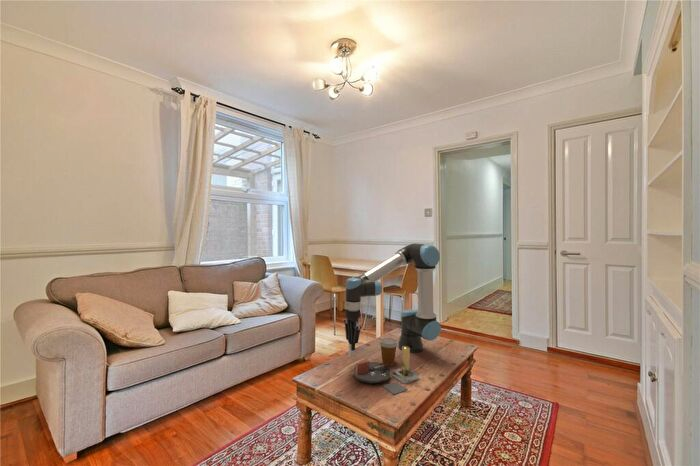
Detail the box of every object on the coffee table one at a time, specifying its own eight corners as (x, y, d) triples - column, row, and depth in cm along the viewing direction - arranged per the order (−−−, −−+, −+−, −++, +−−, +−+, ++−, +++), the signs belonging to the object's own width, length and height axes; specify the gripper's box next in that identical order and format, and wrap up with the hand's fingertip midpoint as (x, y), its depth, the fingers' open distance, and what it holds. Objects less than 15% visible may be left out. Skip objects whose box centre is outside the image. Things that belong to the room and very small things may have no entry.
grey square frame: (405, 371, 154) (406, 366, 154) (418, 379, 146) (418, 374, 146) (392, 375, 149) (392, 371, 149) (404, 384, 141) (404, 379, 141)
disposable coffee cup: (396, 367, 158) (396, 345, 158) (378, 365, 160) (378, 343, 160) (397, 359, 167) (397, 338, 167) (380, 358, 169) (380, 337, 169)
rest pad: (395, 382, 143) (395, 381, 143) (407, 390, 136) (407, 389, 136) (382, 386, 139) (382, 385, 139) (393, 395, 132) (393, 394, 132)
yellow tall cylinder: (405, 374, 150) (406, 345, 150) (410, 378, 147) (411, 348, 147) (399, 376, 148) (400, 346, 148) (405, 380, 145) (405, 349, 145)
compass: (375, 362, 160) (375, 349, 160) (397, 377, 145) (397, 362, 145) (346, 370, 151) (346, 356, 151) (367, 387, 135) (367, 371, 135)
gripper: (339, 307, 154) (338, 352, 154) (353, 313, 143) (352, 362, 143) (352, 305, 158) (351, 349, 158) (366, 311, 147) (365, 359, 147)
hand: (351, 355), depth 151 cm, fingers closed
